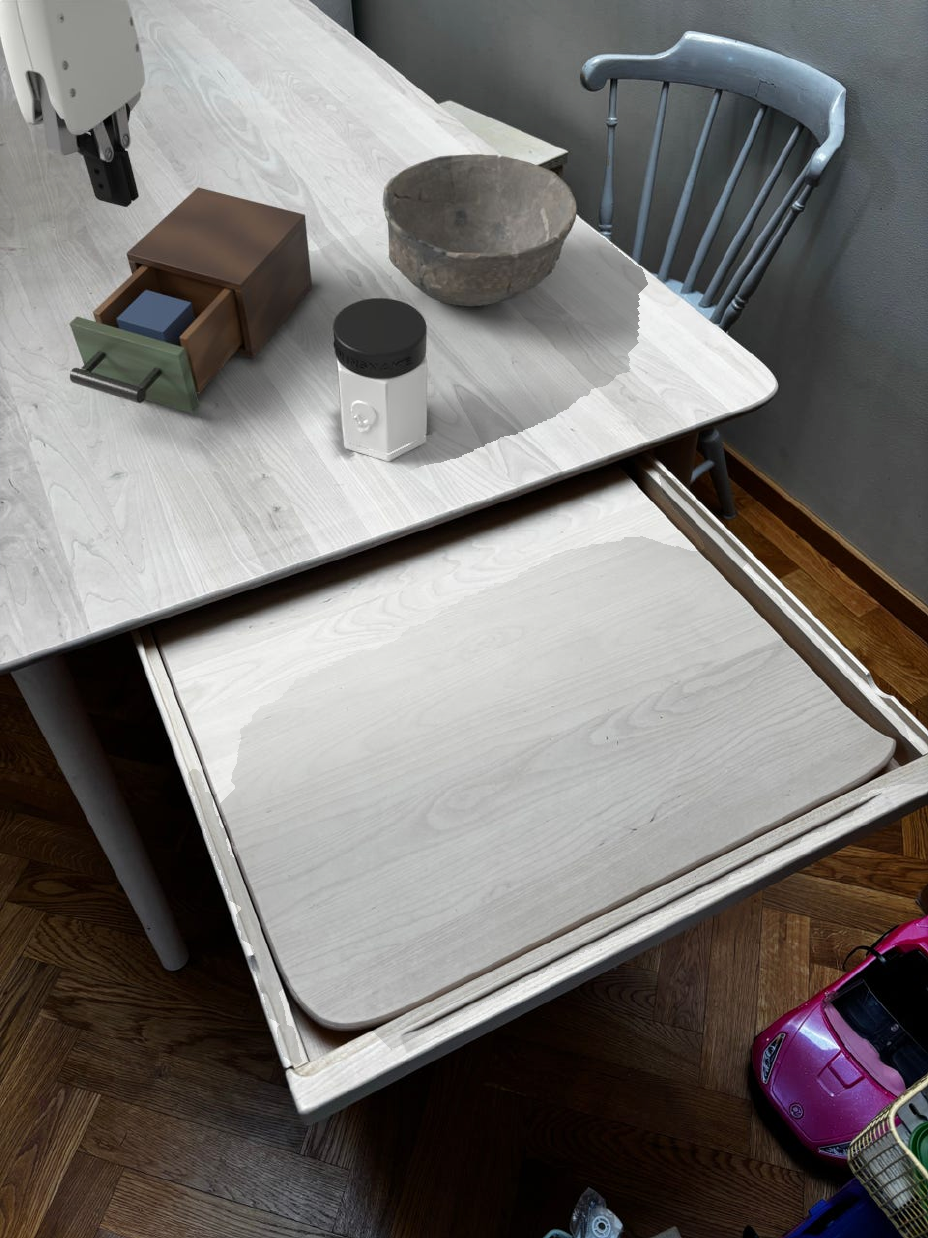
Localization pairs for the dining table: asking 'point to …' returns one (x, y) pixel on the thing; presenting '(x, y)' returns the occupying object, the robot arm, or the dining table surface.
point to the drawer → (158, 342)
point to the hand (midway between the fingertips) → (117, 198)
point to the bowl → (477, 226)
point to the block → (158, 317)
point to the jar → (381, 376)
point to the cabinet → (235, 256)
